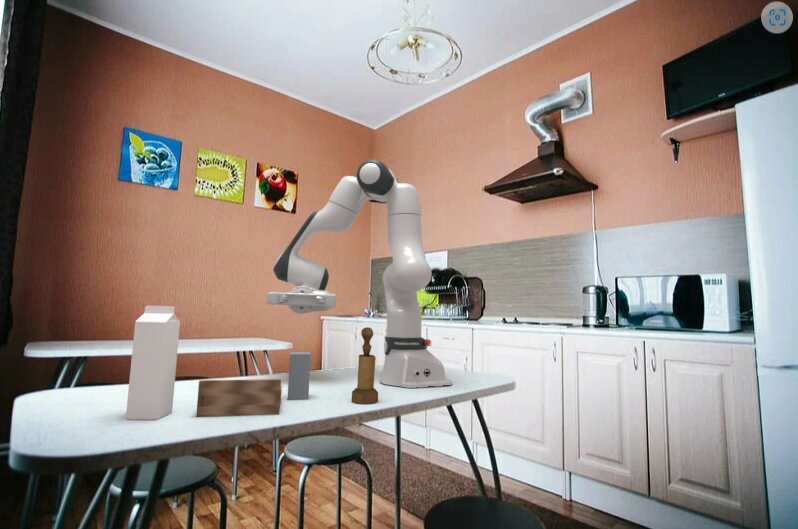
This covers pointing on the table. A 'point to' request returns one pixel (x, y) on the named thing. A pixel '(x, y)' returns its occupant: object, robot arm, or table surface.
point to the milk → (153, 364)
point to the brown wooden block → (238, 397)
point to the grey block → (299, 376)
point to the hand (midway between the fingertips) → (302, 299)
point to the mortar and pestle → (365, 373)
